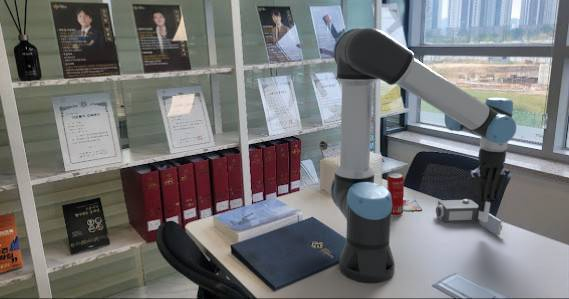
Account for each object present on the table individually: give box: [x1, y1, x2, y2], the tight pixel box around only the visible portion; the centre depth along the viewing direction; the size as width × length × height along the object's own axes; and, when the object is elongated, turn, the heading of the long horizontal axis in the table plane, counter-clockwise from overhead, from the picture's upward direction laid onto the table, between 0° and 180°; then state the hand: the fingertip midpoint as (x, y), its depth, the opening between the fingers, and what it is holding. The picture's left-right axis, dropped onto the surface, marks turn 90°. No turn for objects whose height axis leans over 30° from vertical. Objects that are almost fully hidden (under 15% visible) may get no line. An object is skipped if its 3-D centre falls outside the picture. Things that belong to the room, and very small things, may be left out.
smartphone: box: [403, 199, 423, 212], centre depth 165 cm, size 8×1×15 cm
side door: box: [477, 212, 503, 236], centre depth 142 cm, size 11×1×5 cm, turn 10°
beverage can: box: [386, 172, 405, 217], centre depth 154 cm, size 6×6×15 cm
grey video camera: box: [435, 198, 479, 224], centre depth 151 cm, size 14×8×6 cm, turn 93°
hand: (482, 220), depth 137 cm, fingers closed
